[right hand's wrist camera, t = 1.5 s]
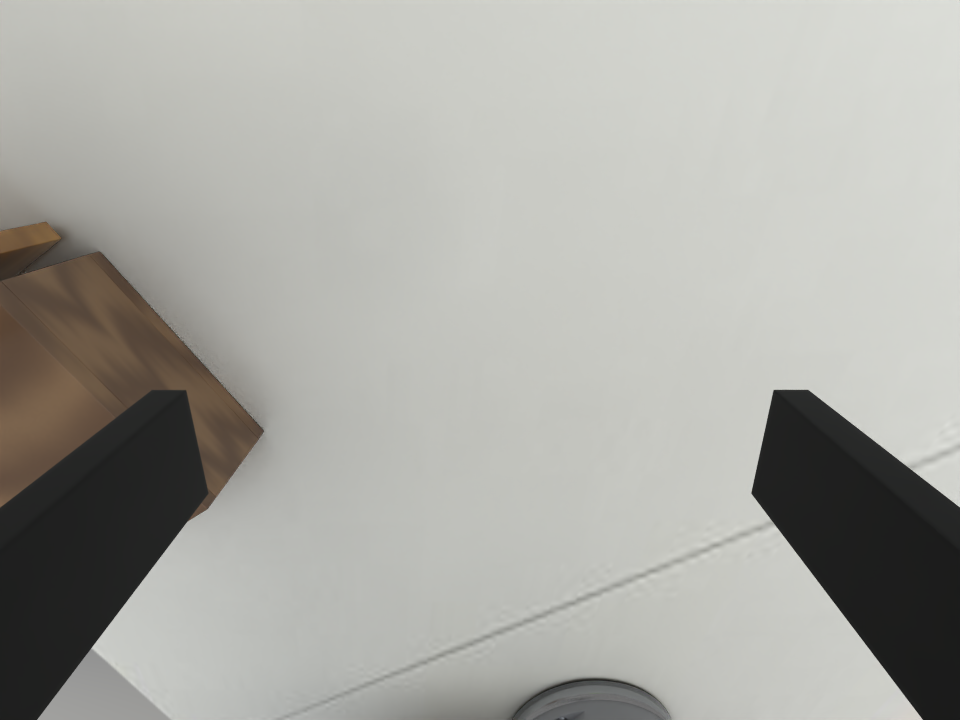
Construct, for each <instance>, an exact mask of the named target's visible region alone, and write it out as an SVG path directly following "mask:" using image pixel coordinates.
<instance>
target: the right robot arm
mask: <svg viewBox="0 0 960 720" xmlns="http://www.w3.org/2000/svg"><path fill="white" fill-rule="evenodd" d="M208 494H209V493H208V488H207V484H206V479H205V474H204V470H203V465H202V461H201V456H200V451H199V447H198V442H197V437H196V433H195V428H194V424H193V419H192V414H191V410H190V405H189V400H188V396H187V391H186V390H151V391H150V392H149V393H147V394H146V395H145V396H143V397H142V398H141V399H140V400H138V401H137V402H136V403H134V404H133V405H132V406H131V407H129V408H128V409H127V410H125V411H124V412H123V413H122V414H120V415H119V416H118V417H116V418H115V419H114V420H113V421H111V422H110V423H109V424H107V425H106V426H105V427H103V428H102V429H101V430H100V431H98V432H97V433H96V434H94V435H93V436H92V437H91V438H89V439H88V440H87V441H85V442H84V443H83V444H82V445H80V446H79V447H78V448H76V449H75V450H74V451H73V452H71V453H70V454H69V455H67V456H66V457H65V458H63V459H62V460H61V461H60V462H58V463H57V464H56V465H54V466H53V467H52V468H51V469H49V470H48V471H47V472H45V473H44V474H43V475H42V476H40V477H39V478H38V479H36V480H35V481H34V482H33V483H31V484H30V485H29V486H27V487H26V488H25V489H23V490H22V491H21V492H20V493H18V494H17V495H16V496H14V497H13V498H12V499H11V500H9V501H8V502H7V503H5V504H4V505H3V506H2V507H0V720H37V719H38V718H39V716H40V715H41V714H42V712H43V711H44V710H45V708H46V707H47V706H48V705H49V703H50V702H51V701H52V699H53V698H54V697H55V695H56V694H57V693H58V691H59V690H60V689H61V687H62V686H63V685H64V683H65V682H66V681H67V679H68V678H69V677H70V676H71V674H72V673H73V672H74V670H75V669H76V668H77V666H78V665H79V664H80V662H81V661H82V660H83V658H84V657H85V656H86V654H87V653H88V652H89V650H90V649H91V648H92V647H93V645H94V644H95V643H96V641H97V640H98V639H99V637H100V636H101V635H102V633H103V632H104V631H105V629H106V628H107V627H108V625H109V624H110V623H111V621H112V620H113V619H114V618H115V616H116V615H117V614H118V612H119V611H120V610H121V608H122V607H123V606H124V604H125V603H126V602H127V600H128V599H129V598H130V596H131V595H132V594H133V592H134V591H135V590H136V589H137V587H138V586H139V585H140V583H141V582H142V581H143V579H144V578H145V577H146V575H147V574H148V573H149V571H150V570H151V569H152V567H153V566H154V565H155V563H156V562H157V561H158V560H159V558H160V557H161V556H162V554H163V553H164V552H165V550H166V549H167V548H168V546H169V545H170V544H171V542H172V541H173V540H174V538H175V537H176V536H177V534H178V533H179V532H180V531H181V529H182V528H183V527H184V525H185V524H186V523H187V521H188V520H189V519H190V517H191V516H192V515H193V513H194V512H195V511H196V509H197V508H198V507H199V505H200V504H201V503H202V502H203V500H204V499H205V498H206V496H207V495H208ZM751 494H752V495H753V496H754V498H755V499H756V500H757V502H758V503H759V504H760V505H761V507H762V508H763V509H764V511H765V512H766V513H767V515H768V516H769V517H770V519H771V520H772V521H773V523H774V524H775V525H776V527H777V528H778V529H779V531H780V532H781V533H782V534H783V536H784V537H785V538H786V540H787V541H788V542H789V544H790V545H791V546H792V548H793V549H794V550H795V552H796V553H797V554H798V556H799V557H800V558H801V560H802V561H803V562H804V563H805V565H806V566H807V567H808V569H809V570H810V571H811V573H812V574H813V575H814V577H815V578H816V579H817V581H818V582H819V583H820V585H821V586H822V587H823V589H824V590H825V591H826V592H827V594H828V595H829V596H830V598H831V599H832V600H833V602H834V603H835V604H836V606H837V607H838V608H839V610H840V611H841V612H842V614H843V615H844V616H845V618H846V619H847V620H848V621H849V623H850V624H851V625H852V627H853V628H854V629H855V631H856V632H857V633H858V635H859V636H860V637H861V639H862V640H863V641H864V643H865V644H866V645H867V647H868V648H869V649H870V650H871V652H872V653H873V654H874V656H875V657H876V658H877V660H878V661H879V662H880V664H881V665H882V666H883V668H884V669H885V670H886V672H887V673H888V674H889V676H890V677H891V678H892V679H893V681H894V682H895V683H896V685H897V686H898V687H899V689H900V690H901V691H902V693H903V694H904V695H905V697H906V698H907V699H908V701H909V702H910V703H911V705H912V706H913V707H914V708H915V710H916V711H917V712H918V714H919V715H920V716H921V718H922V719H923V720H960V507H958V506H957V505H956V504H955V503H953V502H952V501H951V500H949V499H948V498H947V497H946V496H944V495H943V494H942V493H940V492H939V491H938V490H937V489H935V488H934V487H933V486H931V485H930V484H929V483H927V482H926V481H925V480H924V479H922V478H921V477H920V476H918V475H917V474H916V473H915V472H913V471H912V470H911V469H909V468H908V467H907V466H906V465H904V464H903V463H902V462H900V461H899V460H898V459H897V458H895V457H894V456H893V455H891V454H890V453H889V452H887V451H886V450H885V449H884V448H882V447H881V446H880V445H878V444H877V443H876V442H875V441H873V440H872V439H871V438H869V437H868V436H867V435H866V434H864V433H863V432H862V431H860V430H859V429H858V428H857V427H855V426H854V425H853V424H851V423H850V422H849V421H847V420H846V419H845V418H844V417H842V416H841V415H840V414H838V413H837V412H836V411H835V410H833V409H832V408H831V407H829V406H828V405H827V404H826V403H824V402H823V401H822V400H820V399H819V398H818V397H817V396H815V395H814V394H813V393H811V392H810V391H809V390H774V391H773V396H772V400H771V405H770V410H769V414H768V419H767V424H766V428H765V433H764V437H763V442H762V447H761V451H760V456H759V461H758V465H757V470H756V474H755V479H754V484H753V488H752V493H751ZM512 720H671V717H670V715H669V713H668V712H667V710H666V709H665V707H664V706H663V705H662V704H661V703H660V702H659V701H658V700H657V699H655V698H654V697H653V696H651V695H650V694H648V693H646V692H644V691H643V690H640V689H638V688H636V687H633V686H630V685H627V684H623V683H618V682H612V681H597V680H594V681H580V682H574V683H569V684H565V685H561V686H558V687H555V688H552V689H550V690H547V691H545V692H543V693H541V694H539V695H538V696H536V697H534V698H533V699H531V700H530V701H529V702H527V703H526V704H525V705H524V706H523V707H522V708H521V709H520V710H519V711H518V712H517V713H516V715H515V716H514V718H513V719H512Z"/></svg>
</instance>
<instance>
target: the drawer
mask: <svg viewBox="0 0 960 720" xmlns="http://www.w3.org/2000/svg"><path fill="white" fill-rule="evenodd" d="M59 240H61V237H60V236H59V235H58V234H57V233H56V232H55V231H54V230H53V229H52V227H51V226H50V225H49V224H48V223H47V222H43V223H38V224H33V225H28V226H23V227H18V228H13V229H8V230H3V231H0V281H2V280H6V279H9V278H12V277H15V276H16V275H18V274H19V273H20V272H21V271H23V270H24V269H25V268H26V267H27V266H29V265H30V264H31V263H32V262H34V261H35V260H36V259H37V258H39V257H40V256H41V255H42V254H43V253H45V252H46V251H47V250H48V249H50V248H51V247H52V246H53V245H54V244H56V243H57V242H58V241H59Z"/></svg>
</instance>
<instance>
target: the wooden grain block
mask: <svg viewBox="0 0 960 720" xmlns="http://www.w3.org/2000/svg"><path fill="white" fill-rule="evenodd" d="M151 390H186V391H187V396H188V400H189V405H190V410H191V414H192V419H193V424H194V428H195V433H196V437H197V442H198V447H199V451H200V456H201V461H202V465H203V470H204V474H205V479H206V484H207V488H208V493H209V494H208V495H207V496H206V498H205V499H204V500H203V502H202V503H201V504H200V505H199V507H198V508H197V509H196V511H195V512H194V513H193V515H192V516H191V517H190V519H189V520H191V519H192V518H194V517H195V516H197V515H199V514H200V513H202V512H204V511H205V510H207V509H208V508H209V506H210V505H211V504H212V502H213V501H214V500H215V498H216V497H217V496H218V494H219V493H220V491H221V490H222V489H223V487H224V486H225V485H226V483H227V482H228V480H229V479H230V478H231V476H232V475H233V474H234V472H235V471H236V470H237V468H238V467H239V465H240V464H241V463H242V461H243V460H244V459H245V457H246V456H247V454H248V453H249V452H250V450H251V449H252V448H253V446H254V445H255V444H256V442H257V441H258V439H259V438H260V436H261V435H262V434H263V432H264V431H263V430H262V429H261V428H260V427H259V426H258V424H257V423H256V422H255V421H254V420H253V419H252V418H251V417H250V416H249V415H248V413H247V412H246V411H245V410H244V409H243V408H242V407H241V406H240V405H239V404H238V403H237V401H236V400H235V399H234V398H233V397H232V396H231V395H230V394H229V393H228V392H227V390H226V389H225V388H224V387H223V386H222V385H221V384H220V383H219V382H218V381H217V379H216V378H215V377H214V376H213V375H212V374H211V373H210V372H209V371H208V370H207V369H206V367H205V366H204V365H203V364H202V363H201V362H200V361H199V360H198V359H197V358H196V356H195V355H194V354H193V353H192V352H191V351H190V350H189V349H188V348H187V347H186V345H185V344H184V343H183V342H182V341H181V340H180V339H179V338H178V337H177V336H176V335H175V333H174V332H173V331H172V330H171V329H170V328H169V327H168V326H167V325H166V324H165V322H164V321H163V320H162V319H161V318H160V317H159V316H158V315H157V314H156V313H155V312H154V310H153V309H152V308H151V307H150V306H149V305H148V304H147V303H146V302H145V301H144V299H143V298H142V297H141V296H140V295H139V294H138V293H137V292H136V291H135V290H134V288H133V287H132V286H131V285H130V284H129V283H128V282H127V281H126V280H125V279H124V278H123V276H122V275H121V274H120V273H119V272H118V271H117V270H116V269H115V268H114V267H113V265H112V264H111V263H110V262H109V261H108V260H107V259H106V258H105V257H104V256H103V254H102V253H101V252H96V253H92V254H89V255H85V256H81V257H78V258H75V259H72V260H68V261H65V262H62V263H58V264H55V265H52V266H48V267H45V268H42V269H39V270H35V271H32V272H29V273H25V274H22V275H19V276H15V277H12V278H9V279H6V280H2V281H0V507H2V506H3V505H4V504H5V503H7V502H8V501H9V500H11V499H12V498H13V497H14V496H16V495H17V494H18V493H20V492H21V491H22V490H23V489H25V488H26V487H27V486H29V485H30V484H31V483H33V482H34V481H35V480H36V479H38V478H39V477H40V476H42V475H43V474H44V473H45V472H47V471H48V470H49V469H51V468H52V467H53V466H54V465H56V464H57V463H58V462H60V461H61V460H62V459H63V458H65V457H66V456H67V455H69V454H70V453H71V452H73V451H74V450H75V449H76V448H78V447H79V446H80V445H82V444H83V443H84V442H85V441H87V440H88V439H89V438H91V437H92V436H93V435H94V434H96V433H97V432H98V431H100V430H101V429H102V428H103V427H105V426H106V425H107V424H109V423H110V422H111V421H113V420H114V419H115V418H116V417H118V416H119V415H120V414H122V413H123V412H124V411H125V410H127V409H128V408H129V407H131V406H132V405H133V404H134V403H136V402H137V401H138V400H140V399H141V398H142V397H143V396H145V395H146V394H147V393H149V392H150V391H151ZM189 520H188V521H189Z"/></svg>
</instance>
